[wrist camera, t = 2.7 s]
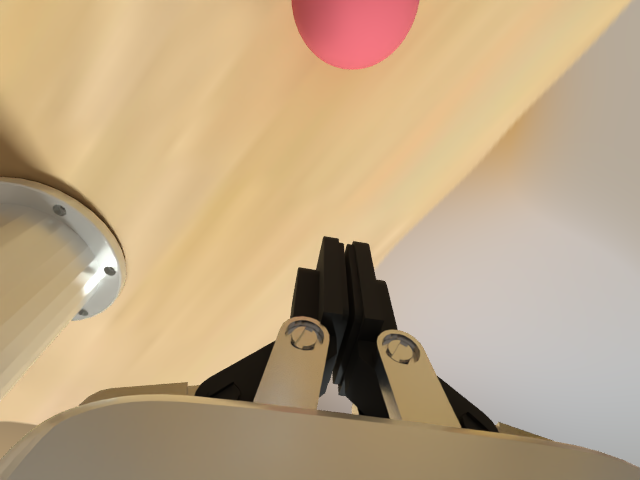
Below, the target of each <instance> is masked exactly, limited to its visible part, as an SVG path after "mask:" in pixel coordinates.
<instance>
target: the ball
mask: <svg viewBox="0 0 640 480" xmlns="http://www.w3.org/2000/svg"><path fill="white" fill-rule="evenodd" d="M418 5H419V0H292V9H293V15H294V19H295V23H296V26H297V28H298V31H299V33H300V35H301V37H302V39H303V40H304V42H305V43H306V45H307V46H308V48H309V49H310V50H311V51H312V52H313V53H314V54H315V55H316V56H317V57H319V58H320V59H321V60H323V61H324V62H326V63H328V64H330V65H332V66H335V67H338V68H342V69H362V68H366V67H370V66H373V65H375V64H377V63H379V62H381V61H382V60H384V59H385V58H387V57H388V56H389V55H390V54H392V53H393V52H394V51H395V50H396V49H397V48H398V47H399V45H400V44H401V43H402V41H403V40H404V39H405V37H406V35H407V34H408V32H409V30H410V28H411V26H412V24H413V22H414V19H415V16H416V13H417V9H418Z"/></svg>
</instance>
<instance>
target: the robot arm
mask: <svg viewBox="0 0 640 480" xmlns="http://www.w3.org/2000/svg"><path fill="white" fill-rule="evenodd" d="M125 279H126V262H125V259H124V256H123V253H122V250H121V248H120V246H119V244H118V242H117V240H116V238H115V237H114V235H113V234H112V233H111V231H110V230H109V229H108V227H107V226H106V225H105V224H104V223H103V222H102V221H101V220H100V219H99V218H98V217H97V216H96V215H95V214H94V213H93V212H92V211H91V210H89V209H88V208H87V207H85V206H84V205H83V204H81V203H80V202H79V201H77V200H76V199H74V198H72V197H70V196H68V195H67V194H65V193H63V192H61V191H59V190H57V189H55V188H52V187H49V186H47V185H44V184H42V183H39V182H34V181H30V180H26V179H22V178H10V177H0V402H1V400H2V399H3V398H4V397H5V396H6V395H7V394H8V392H9V391H10V390H11V389H12V388H13V387H14V386H15V384H16V383H17V382H18V381H19V380H20V379H21V377H22V376H23V375H24V374H25V373H26V372H27V371H28V369H29V368H30V367H31V366H32V365H33V364H34V363H35V361H36V360H37V359H38V358H39V357H40V356H41V354H42V353H43V352H44V351H45V350H46V349H47V348H48V346H49V345H50V344H51V343H52V342H53V341H54V340H55V338H56V337H57V336H58V335H59V334H60V333H61V332H62V330H63V329H64V328H65V327H66V326H67V325H68V323H69V322H70V321H77V320H83V319H87V318H91V317H94V316H96V315H98V314H100V313H102V312H104V311H105V310H106V309H107V308H108V307H110V306H111V305H112V304H113V302H114V301H115V300H116V299H117V297H118V296H119V295H120V293H121V291H122V289H123V287H124V284H125ZM332 371H333V384H338V391H339V395H341V396H346V397H347V398H348V399H349V400H350V401H351V402H352V403H353V404H352V414H346V413H339V412H331V411H322V410H317V404H318V399H319V397H321V396H322V395H323V394H324V393H325V392H326V388H327V385H328V383H329V381H330V378H331V374H332ZM0 480H640V468H639V467H637V466H635V465H633V464H631V463H628V462H626V461H624V460H622V459H619V458H616V457H613V456H611V455H607V454H605V453H602V452H599V451H595V450H591V449H588V448H584V447H580V446H576V445H571V444H566V443H561V442H555V441H552V440H550V439H547V438H544V437H541V436H538V435H535V434H532V433H530V432H526V431H524V430H521V429H518V428H515V427H512V426H509V425H506V424H503V423H501V422H498V424H497V425H494V423H493V422H492V421H491V420H490V419H489V418H488V417H487V416H486V415H485V414H484V413H483V412H482V411H480V410H479V409H478V408H477V407H475V406H474V405H473V404H472V403H470V402H469V401H468V400H467V399H465V398H464V397H463V396H462V395H460V394H459V393H458V392H457V391H455V390H454V389H453V388H452V387H450V386H449V385H448V384H447V383H445V382H444V381H443V380H442V379H440V378H439V377H438V376H436V374H435V371H434V369H433V367H432V365H431V363H430V361H429V359H428V357H427V355H426V353H425V351H424V348H423V347H422V345H421V344H420V343H419V342H418V341H417V340H416V339H415V338H414V337H413V336H411V335H409V334H408V333H405V332H403V331H399V330H397V325H396V322H395V317H394V313H393V309H392V305H391V301H390V296H389V293H388V288H387V285H386V282H385V281H382V280H376V277H375V272H374V267H373V262H372V257H371V252H370V247H369V244H367V243H361V242H355V241H354V242H353V243H352V245H350V244H347V246H346V250H345V254H344V244H343V243H339V239H337V238H331V237H325V236H324V237H323V241H322V245H321V250H320V254H319V259H318V264H317V268H316V270H312V269H306V268H300V267H299V268H298V272H297V277H296V283H295V288H294V295H293V301H292V308H291V316H290V319H288V320H287V321H286V322H284V323H283V325H282V326H281V328H280V331H279V333H278V336H277V339H276V341H274V342H272V343H270V344H268V345H267V346H265V347H263V348H261V349H260V350H258V351H256V352H254V353H252V354H251V355H249V356H247V357H245V358H244V359H242V360H240V361H238V362H236V363H235V364H233V365H231V366H229V367H227V368H226V369H224V370H222V371H220V372H219V373H217V374H215V375H213V376H211V377H210V378H208V379H207V380H206V381H204V382H203V383H202V384H201V385H197V386H188V382H184V383H171V384H159V385H146V386H133V387H121V388H110V389H106V390H101V391H99V392H97V393H95V394H93V395H91V396H89V397H88V398H87V399H85V400H84V401H83V402H82V403H81V404H80V405H79V406H78V407H75V408H72V409H69V410H67V411H64V412H61V413H59V414H57V415H55V416H53V417H51V418H49V419H47V420H46V421H44V422H42V423H41V424H39V425H38V426H36V427H35V428H34V429H32V430H31V431H30V432H28V433H27V434H26V435H25V436H24V437H23V438H22V439H21V440H19V441H18V442H17V443H16V444H15V445H14V446H13V447H12V448H11V449H10V450H9V451H8V452H7V453H6V454H5V455H4V456H3V457H2V458H1V459H0Z"/></svg>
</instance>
